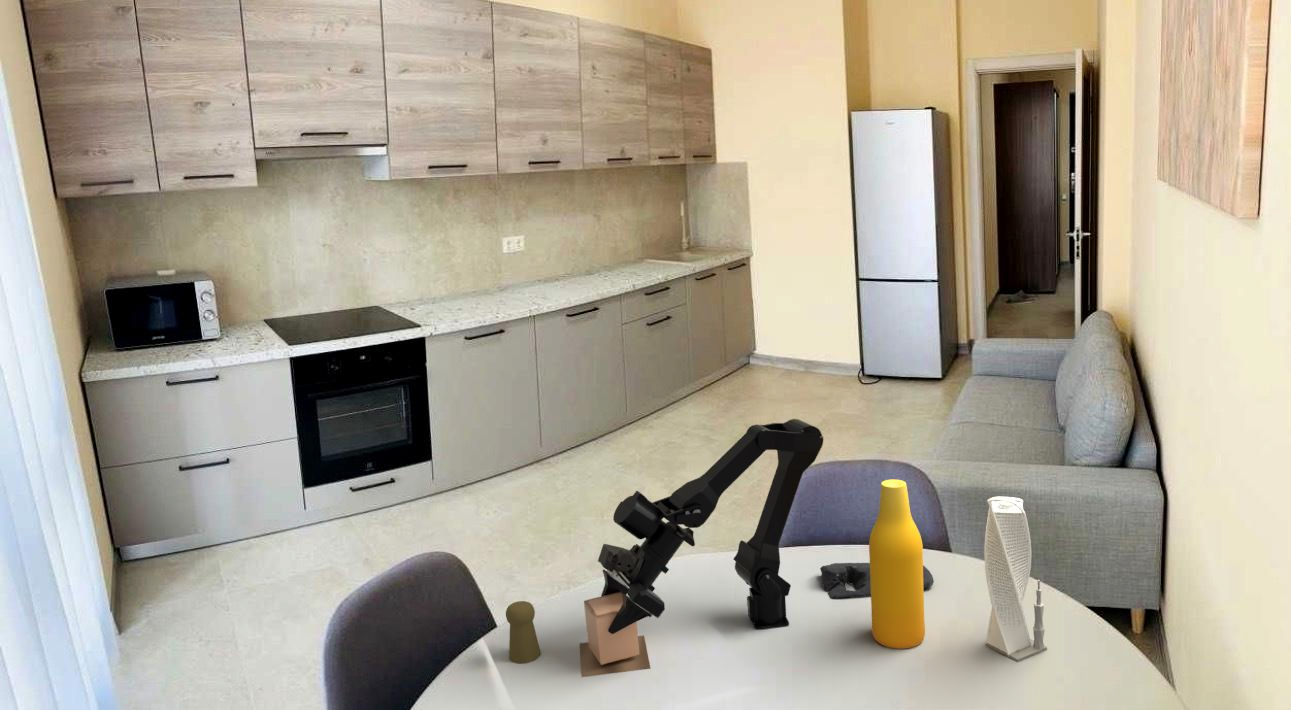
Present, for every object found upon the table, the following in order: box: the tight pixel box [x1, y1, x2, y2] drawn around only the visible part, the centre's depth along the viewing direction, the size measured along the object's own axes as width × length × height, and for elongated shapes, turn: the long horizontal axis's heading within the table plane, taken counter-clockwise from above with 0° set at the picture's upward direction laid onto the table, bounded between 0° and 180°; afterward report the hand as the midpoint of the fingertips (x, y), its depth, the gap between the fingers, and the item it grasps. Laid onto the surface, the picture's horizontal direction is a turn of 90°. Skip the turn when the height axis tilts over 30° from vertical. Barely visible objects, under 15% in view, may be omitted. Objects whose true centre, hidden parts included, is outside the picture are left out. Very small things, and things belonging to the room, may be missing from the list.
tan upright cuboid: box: [583, 592, 639, 665], centre depth 170 cm, size 7×7×9 cm
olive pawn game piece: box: [505, 600, 542, 665], centre depth 173 cm, size 6×6×11 cm
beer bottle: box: [868, 479, 926, 650], centre depth 169 cm, size 9×9×29 cm
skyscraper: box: [983, 496, 1048, 663], centre depth 163 cm, size 8×8×28 cm
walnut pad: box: [579, 635, 651, 678], centre depth 172 cm, size 12×12×1 cm
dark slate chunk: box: [819, 562, 935, 600], centre depth 194 cm, size 15×22×5 cm
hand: (603, 623), depth 170 cm, fingers closed on tan upright cuboid, 7 cm apart
